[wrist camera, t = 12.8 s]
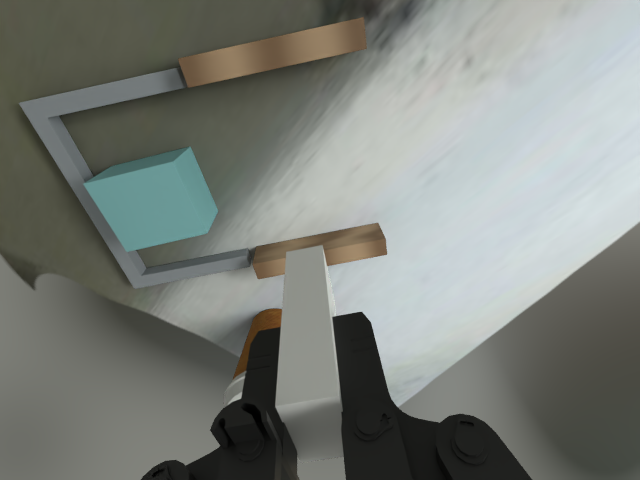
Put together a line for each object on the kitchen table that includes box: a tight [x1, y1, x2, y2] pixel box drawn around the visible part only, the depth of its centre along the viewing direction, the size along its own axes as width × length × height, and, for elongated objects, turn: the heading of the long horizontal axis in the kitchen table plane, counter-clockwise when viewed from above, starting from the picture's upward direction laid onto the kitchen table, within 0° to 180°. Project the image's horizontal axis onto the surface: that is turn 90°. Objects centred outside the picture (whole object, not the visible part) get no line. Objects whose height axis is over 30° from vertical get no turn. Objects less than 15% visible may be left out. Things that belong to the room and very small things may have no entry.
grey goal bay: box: [19, 67, 251, 289], centre depth 32 cm, size 14×20×2 cm
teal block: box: [83, 147, 218, 252], centre depth 31 cm, size 8×7×5 cm
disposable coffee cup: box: [223, 309, 282, 407], centre depth 38 cm, size 10×10×12 cm
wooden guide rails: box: [178, 17, 387, 279], centre depth 30 cm, size 14×21×4 cm, turn 11°
